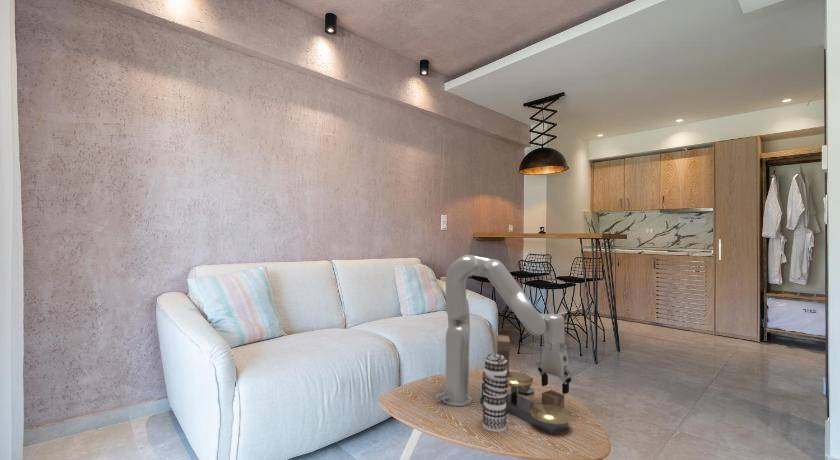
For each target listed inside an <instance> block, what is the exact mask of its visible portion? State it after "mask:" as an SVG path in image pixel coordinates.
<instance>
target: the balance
mask: <svg viewBox="0 0 840 460" xmlns="http://www.w3.org/2000/svg"><path fill="white" fill-rule="evenodd" d="M523 373H524V372H521V373H520V371H519V372H518V371H511V370H509V372H508V373H507V372H506V374H508V376H509V377H507V378H506V380H507V381H508V383H507V385H508V387H510V393H509V394H508V393H507V395H506V407H507V410H506V411H507V413H509V414H511V415H513V416H515V417H517V418H519V419H521V420H523V421H525V422H526V423H529V424H531V425H532V426H534V427H535V428H538V429H539V430H541V431H544V432H545V433H548V434H549V435H551V436H554V435H555V434H558V433H561V432H563V431H565V430H568V429H569V423H570V421H571V419H572V417H571V415H572V414H571V413H570V412H569V411H568V410H567V409H565V408H564V409H563V408H561V407H559V406H555V405H551V404H542V403H536V402H535V400H536V397H537V395H538V391H539V389H535V391H534V395H533V397H532V399H531V400H530V399H528V398H525V397H523V396H521V395H520V394H519V395H518V389H517V387H527V386H530V387H531V385H533V383H534V381H533V377H532V376H530V375H529V374H527V373H526V374H525V373H524V374H523Z"/></svg>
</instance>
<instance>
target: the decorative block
mask: <svg viewBox="0 0 840 460" xmlns="http://www.w3.org/2000/svg"><path fill="white" fill-rule="evenodd" d="M510 353H511V340H510V336H509V335H502V334H498V335H496V354H500V355H502V356H504V358H505V359H506V360H507V362H506V369H507V371H508V372H509V371H510Z"/></svg>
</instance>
